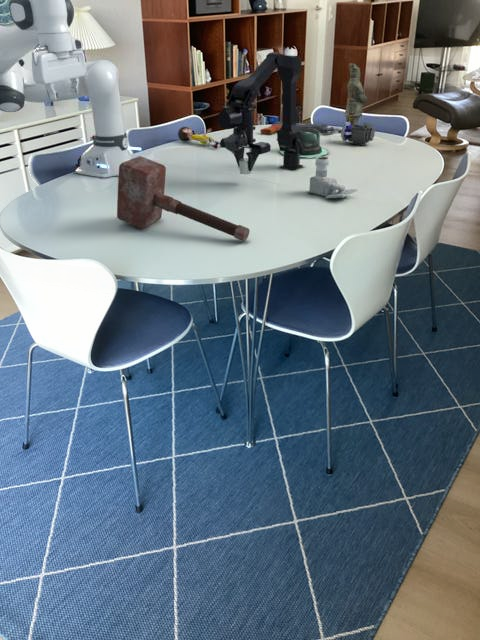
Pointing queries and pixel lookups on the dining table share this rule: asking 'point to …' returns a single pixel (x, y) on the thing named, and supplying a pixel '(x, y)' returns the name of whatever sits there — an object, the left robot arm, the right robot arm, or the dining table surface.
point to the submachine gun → (278, 125)
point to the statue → (354, 96)
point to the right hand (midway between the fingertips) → (245, 169)
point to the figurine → (196, 137)
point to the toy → (357, 133)
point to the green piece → (310, 143)
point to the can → (244, 166)
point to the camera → (326, 182)
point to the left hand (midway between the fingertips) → (64, 96)
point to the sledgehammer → (158, 199)
